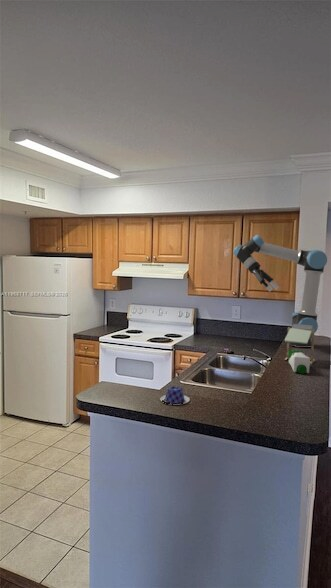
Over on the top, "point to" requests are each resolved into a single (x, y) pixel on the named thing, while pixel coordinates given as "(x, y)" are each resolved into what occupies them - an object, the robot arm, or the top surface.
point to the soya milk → (298, 361)
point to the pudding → (175, 395)
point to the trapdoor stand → (311, 347)
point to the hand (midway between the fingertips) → (274, 289)
